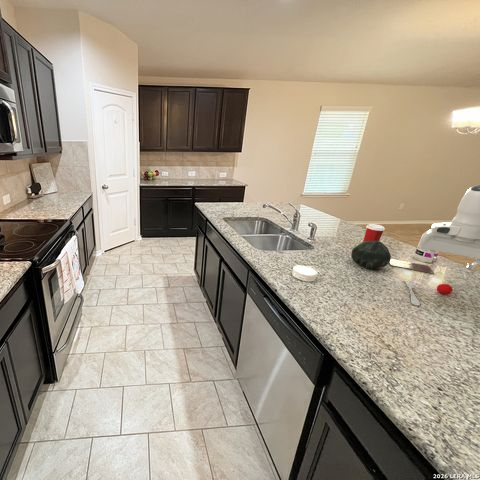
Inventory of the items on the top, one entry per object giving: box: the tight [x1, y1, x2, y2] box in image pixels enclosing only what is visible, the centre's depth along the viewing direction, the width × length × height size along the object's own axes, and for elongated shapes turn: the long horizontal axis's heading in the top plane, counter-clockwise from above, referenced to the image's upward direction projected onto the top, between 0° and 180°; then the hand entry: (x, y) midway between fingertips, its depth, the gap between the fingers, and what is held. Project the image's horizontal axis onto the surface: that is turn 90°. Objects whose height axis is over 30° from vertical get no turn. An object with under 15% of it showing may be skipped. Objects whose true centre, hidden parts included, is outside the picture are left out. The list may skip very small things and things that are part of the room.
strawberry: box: [436, 283, 454, 295], centre depth 104 cm, size 4×4×4 cm
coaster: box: [291, 264, 318, 283], centre depth 117 cm, size 10×10×4 cm
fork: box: [405, 281, 421, 307], centre depth 105 cm, size 3×21×3 cm, turn 145°
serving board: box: [388, 258, 435, 275], centre depth 128 cm, size 16×10×1 cm, turn 57°
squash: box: [350, 240, 392, 270], centre depth 126 cm, size 14×15×15 cm
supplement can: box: [413, 231, 440, 264], centre depth 132 cm, size 8×8×15 cm
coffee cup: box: [362, 223, 386, 242], centre depth 144 cm, size 8×8×15 cm
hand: (450, 265), depth 96 cm, fingers open, 8 cm apart
